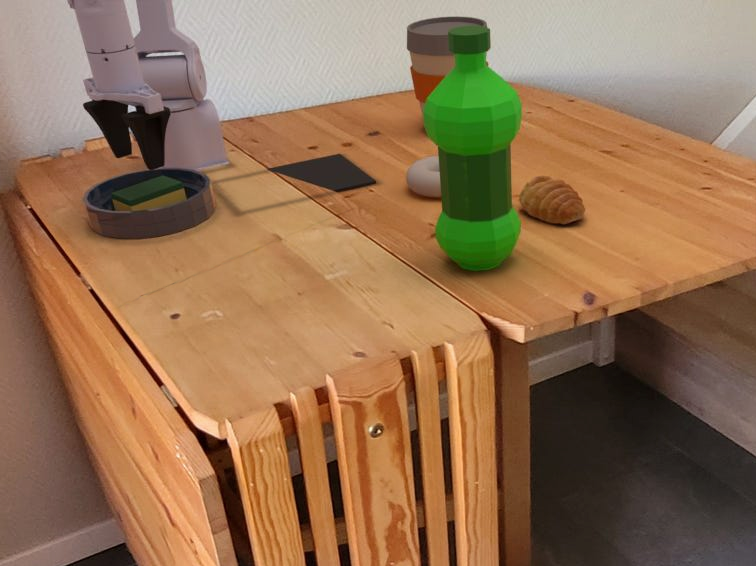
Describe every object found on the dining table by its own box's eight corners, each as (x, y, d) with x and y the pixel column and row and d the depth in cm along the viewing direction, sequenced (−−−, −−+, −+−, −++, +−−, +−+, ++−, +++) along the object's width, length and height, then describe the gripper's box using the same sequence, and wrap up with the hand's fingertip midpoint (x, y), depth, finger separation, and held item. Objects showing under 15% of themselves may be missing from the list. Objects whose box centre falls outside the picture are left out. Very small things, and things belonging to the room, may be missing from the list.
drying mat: (340, 156, 145) (339, 153, 145) (376, 183, 135) (376, 180, 135) (210, 183, 138) (209, 180, 138) (238, 214, 129) (237, 211, 128)
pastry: (598, 219, 122) (599, 189, 119) (554, 232, 119) (554, 202, 117) (555, 197, 128) (555, 168, 126) (513, 209, 126) (512, 180, 123)
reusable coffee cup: (445, 112, 161) (439, 13, 151) (507, 122, 155) (505, 20, 145) (397, 133, 153) (387, 30, 144) (460, 145, 147) (455, 39, 138)
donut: (395, 185, 135) (425, 206, 128) (392, 160, 133) (423, 180, 125) (459, 171, 138) (492, 191, 131) (457, 147, 136) (491, 165, 129)
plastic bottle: (463, 238, 119) (450, 16, 104) (539, 253, 115) (537, 23, 99) (418, 269, 112) (398, 37, 97) (497, 286, 108) (489, 46, 92)
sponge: (169, 201, 132) (163, 175, 130) (188, 208, 129) (182, 182, 127) (117, 219, 127) (110, 193, 125) (136, 227, 125) (129, 200, 123)
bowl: (198, 187, 137) (192, 159, 135) (231, 225, 126) (224, 195, 123) (82, 212, 132) (73, 183, 129) (104, 253, 120) (95, 222, 118)
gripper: (49, 47, 117) (82, 159, 126) (113, 63, 109) (143, 182, 118) (101, 35, 121) (130, 144, 130) (166, 50, 113) (192, 165, 122)
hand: (139, 161), depth 124 cm, fingers open, 7 cm apart
